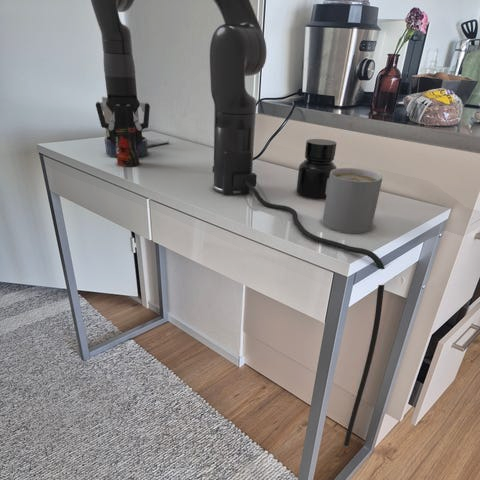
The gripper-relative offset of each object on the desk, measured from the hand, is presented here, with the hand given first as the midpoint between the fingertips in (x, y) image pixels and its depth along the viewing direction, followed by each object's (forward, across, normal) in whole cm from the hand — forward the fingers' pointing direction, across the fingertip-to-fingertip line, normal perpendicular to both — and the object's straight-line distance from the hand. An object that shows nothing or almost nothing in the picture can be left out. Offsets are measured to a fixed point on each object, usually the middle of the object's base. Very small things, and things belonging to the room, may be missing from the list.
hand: (126, 144), depth 118 cm
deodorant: (+5, 0, 0) cm, 5 cm away
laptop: (+5, +4, +30) cm, 31 cm away
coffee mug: (+5, +44, -51) cm, 67 cm away
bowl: (+5, 0, +12) cm, 13 cm away
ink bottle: (+5, +43, -32) cm, 54 cm away
